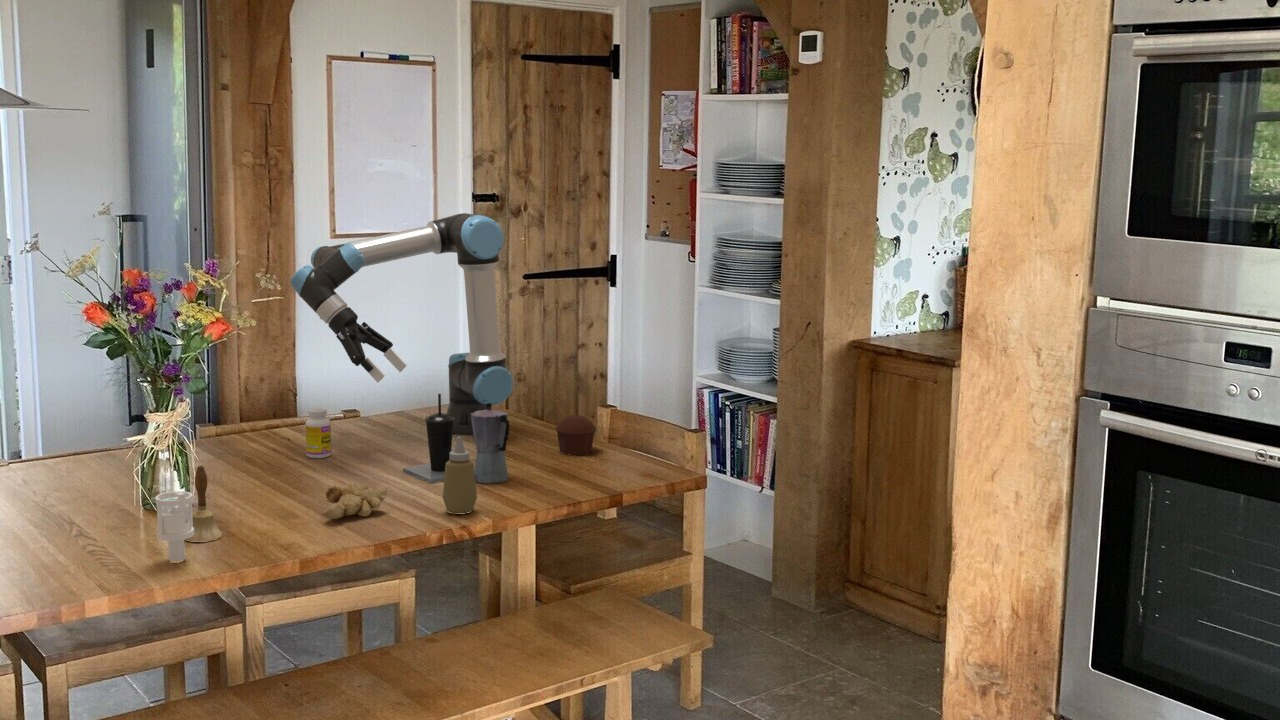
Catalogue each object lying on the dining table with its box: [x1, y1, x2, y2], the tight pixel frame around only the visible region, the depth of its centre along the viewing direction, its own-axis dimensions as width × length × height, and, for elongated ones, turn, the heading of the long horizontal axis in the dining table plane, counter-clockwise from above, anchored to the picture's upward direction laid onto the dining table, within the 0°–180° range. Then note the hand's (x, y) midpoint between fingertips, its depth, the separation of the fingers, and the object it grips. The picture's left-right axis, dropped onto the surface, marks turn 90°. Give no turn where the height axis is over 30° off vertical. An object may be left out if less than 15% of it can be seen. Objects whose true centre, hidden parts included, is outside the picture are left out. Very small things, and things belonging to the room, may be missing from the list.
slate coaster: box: [402, 463, 475, 484], centre depth 326 cm, size 14×14×1 cm
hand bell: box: [186, 465, 223, 541], centre depth 271 cm, size 8×8×16 cm
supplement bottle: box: [305, 407, 332, 459], centre depth 340 cm, size 7×7×13 cm
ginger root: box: [322, 483, 388, 520], centre depth 291 cm, size 16×16×8 cm
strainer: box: [154, 490, 194, 561], centre depth 256 cm, size 7×7×15 cm
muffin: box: [555, 414, 597, 456], centre depth 350 cm, size 12×11×10 cm
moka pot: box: [471, 403, 511, 484], centre depth 318 cm, size 10×15×20 cm, turn 45°
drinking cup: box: [424, 393, 455, 472], centre depth 324 cm, size 8×8×20 cm
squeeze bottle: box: [442, 436, 478, 513], centre depth 292 cm, size 8×8×18 cm
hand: (392, 373), depth 330 cm, fingers open, 13 cm apart
